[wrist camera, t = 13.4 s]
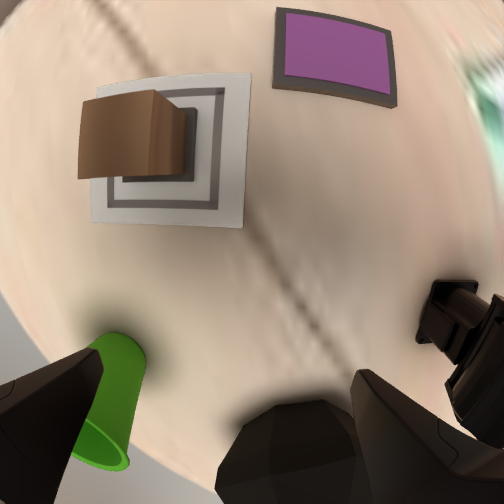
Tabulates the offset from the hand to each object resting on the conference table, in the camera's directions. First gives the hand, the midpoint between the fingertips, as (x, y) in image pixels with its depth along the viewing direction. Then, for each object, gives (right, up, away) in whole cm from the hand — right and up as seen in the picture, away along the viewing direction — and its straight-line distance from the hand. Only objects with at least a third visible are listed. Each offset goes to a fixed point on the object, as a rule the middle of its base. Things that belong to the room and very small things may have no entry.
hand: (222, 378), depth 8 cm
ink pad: (+7, +18, +7) cm, 21 cm away
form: (-5, +11, +9) cm, 16 cm away
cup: (-11, -6, +15) cm, 19 cm away
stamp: (-5, +11, +9) cm, 15 cm away
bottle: (+6, -16, +17) cm, 24 cm away
